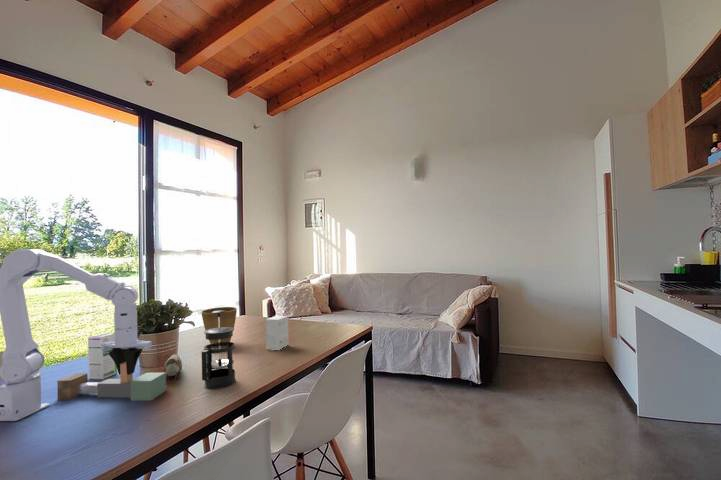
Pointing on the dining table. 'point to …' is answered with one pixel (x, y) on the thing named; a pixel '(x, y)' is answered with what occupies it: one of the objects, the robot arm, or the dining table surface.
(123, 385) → the stand with post
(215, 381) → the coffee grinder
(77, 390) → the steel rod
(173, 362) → the decorative bird
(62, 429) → the dining table surface
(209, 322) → the plant pot
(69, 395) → the brown wooden block
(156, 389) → the socket block
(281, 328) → the small box
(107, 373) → the syrup box
